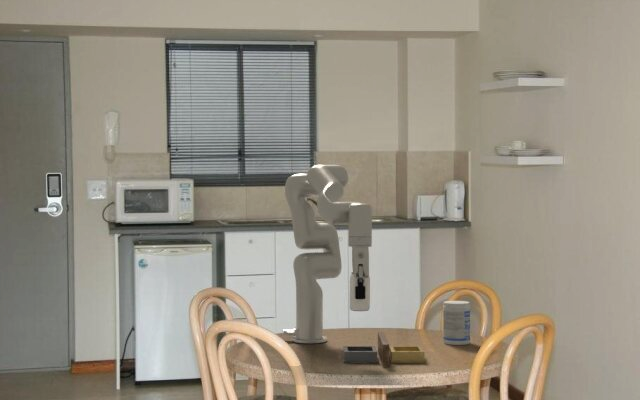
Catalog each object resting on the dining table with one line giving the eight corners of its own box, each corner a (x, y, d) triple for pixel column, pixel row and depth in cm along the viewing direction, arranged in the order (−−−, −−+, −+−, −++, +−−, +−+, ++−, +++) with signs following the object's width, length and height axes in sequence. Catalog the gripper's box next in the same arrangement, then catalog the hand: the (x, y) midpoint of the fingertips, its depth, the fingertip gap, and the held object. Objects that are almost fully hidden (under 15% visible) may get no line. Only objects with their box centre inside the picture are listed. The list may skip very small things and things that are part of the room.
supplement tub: (471, 346, 338) (471, 303, 338) (443, 345, 339) (443, 303, 338) (468, 341, 348) (468, 300, 347) (442, 340, 348) (442, 300, 348)
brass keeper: (391, 362, 308) (391, 351, 308) (389, 356, 318) (389, 345, 318) (424, 362, 308) (424, 351, 308) (420, 356, 318) (420, 345, 318)
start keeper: (344, 362, 308) (344, 351, 308) (343, 356, 318) (343, 346, 318) (377, 362, 308) (377, 351, 308) (375, 356, 318) (375, 346, 318)
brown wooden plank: (382, 367, 301) (382, 344, 301) (377, 352, 325) (377, 331, 325) (389, 367, 301) (389, 344, 301) (383, 352, 325) (383, 331, 325)
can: (368, 311, 309) (368, 274, 309) (348, 311, 310) (348, 273, 310) (371, 308, 315) (371, 271, 315) (351, 308, 317) (351, 271, 316)
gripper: (373, 244, 303) (373, 301, 304) (370, 239, 321) (369, 294, 321) (349, 243, 303) (349, 301, 304) (347, 239, 321) (347, 293, 321)
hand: (359, 297), depth 313 cm, fingers closed on can, 6 cm apart
